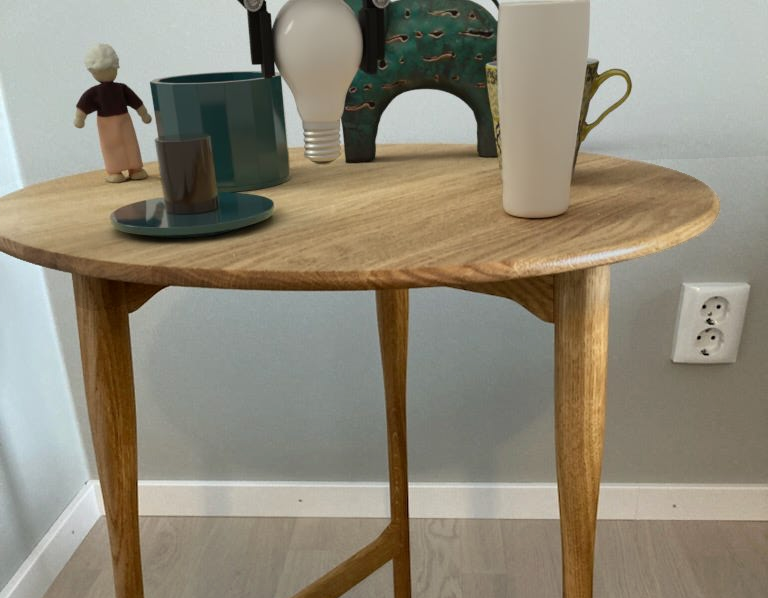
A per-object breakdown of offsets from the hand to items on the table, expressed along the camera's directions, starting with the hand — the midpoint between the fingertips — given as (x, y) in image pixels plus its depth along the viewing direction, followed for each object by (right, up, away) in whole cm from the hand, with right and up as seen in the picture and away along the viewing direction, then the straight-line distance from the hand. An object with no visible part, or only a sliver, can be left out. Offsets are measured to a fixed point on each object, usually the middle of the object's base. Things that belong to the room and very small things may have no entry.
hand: (318, 72), depth 63 cm
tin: (-11, +3, +29) cm, 31 cm away
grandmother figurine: (-23, +4, +32) cm, 40 cm away
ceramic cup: (+20, +1, +23) cm, 30 cm away
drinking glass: (+17, -6, +11) cm, 21 cm away
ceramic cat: (+9, +8, +37) cm, 39 cm away
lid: (-11, -6, +12) cm, 18 cm away
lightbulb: (0, -5, +3) cm, 6 cm away
